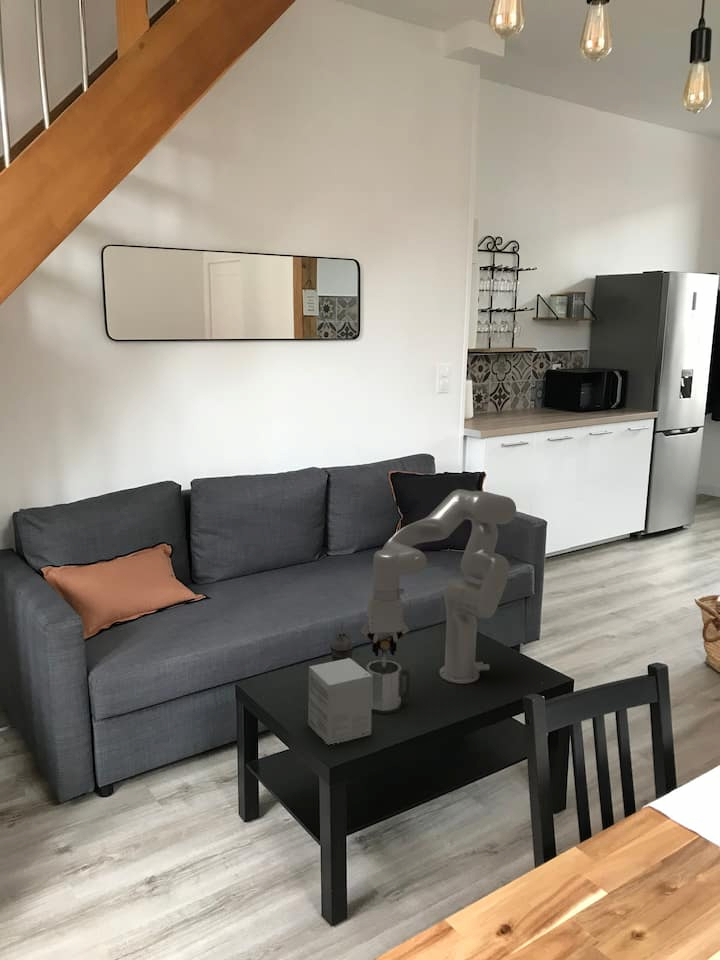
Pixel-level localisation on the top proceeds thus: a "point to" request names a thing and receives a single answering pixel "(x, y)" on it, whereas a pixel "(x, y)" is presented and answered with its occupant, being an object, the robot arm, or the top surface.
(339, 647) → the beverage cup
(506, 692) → the top surface
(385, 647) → the plunger
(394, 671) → the carafe
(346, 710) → the supplement box
